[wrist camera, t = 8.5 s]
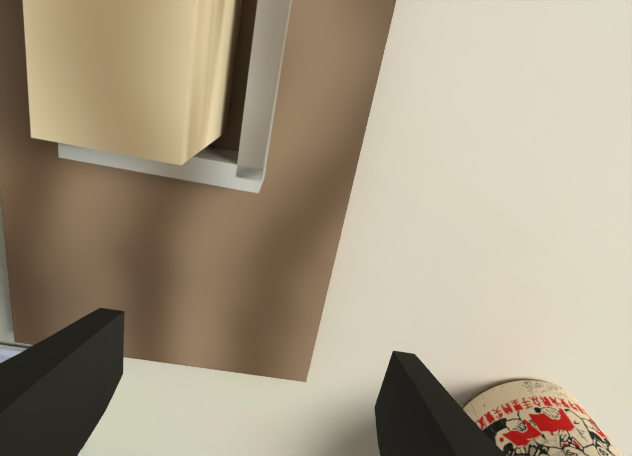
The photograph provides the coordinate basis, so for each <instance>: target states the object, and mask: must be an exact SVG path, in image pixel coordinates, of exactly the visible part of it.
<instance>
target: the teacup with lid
mask: <svg viewBox="0 0 632 456" xmlns="http://www.w3.org/2000/svg"><path fill="white" fill-rule="evenodd" d="M463 410H464V411H465V412H466V413H467V415H468V416H469V417H470V418H471V419H472V420H473V421H474V422H475V423H476V424H477V425H478V426H479V428H480V429H481V430H482V431H483V432H484V433H485V434H486V435H487V436H488V437H489V438H490V439H491V440H492V441H493V442H494V443H495V444H496V445H497V446H498V447H499V448H500V449H501V450H502V451H503V452H504V453H505V454H506V455H507V456H623V455H622V454H621V453H620V451H619V450H618V449H617V448H616V446H615V445H614V444H613V443H612V442H611V440H610V439H609V438H608V437H607V436H606V434H605V433H604V432H603V431H602V430H601V428H600V427H599V426H598V425H597V424H596V422H595V421H594V420H593V419H592V418H591V416H590V415H589V414H588V413H587V411H586V410H585V409H584V408H583V407H582V405H581V404H580V403H579V402H578V401H577V400H576V398H575V397H574V396H573V395H571V394H570V393H569V392H568V391H566V390H565V389H563V388H561V387H559V386H557V385H554V384H551V383H547V382H542V381H535V380H522V381H514V382H509V383H505V384H501V385H498V386H495V387H493V388H491V389H489V390H486V391H485V392H483V393H481V394H480V395H478V396H477V397H475V398H474V399H473V400H471V401H470V402H469V403H468V404H467V405H466V406H465V407H464V408H463Z"/></svg>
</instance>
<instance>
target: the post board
mask: <svg viewBox="0 0 632 456" xmlns="http://www.w3.org/2000/svg"><path fill="white" fill-rule="evenodd" d="M395 3H396V0H242V9H241V17H240V26H239V35H238V43H237V52H236V61H235V69H234V78H233V87H232V95H231V104H230V113H229V121H228V130H227V132H225V133H224V134H223V135H221V136H220V137H219V138H217V139H216V140H215V141H213V142H212V143H211V144H209V145H208V146H207V147H205V148H204V149H202V150H201V151H200V152H198V153H197V154H196V155H194V156H193V157H192V158H190V159H189V160H188V161H186V162H185V163H184V164H182V165H176V164H171V163H166V162H160V161H155V160H149V159H144V158H139V157H133V156H128V155H123V154H117V153H112V152H106V151H101V150H96V149H90V148H85V147H79V146H74V145H69V144H63V143H58V142H52V141H47V140H42V139H36V138H31V129H30V112H29V96H28V79H27V63H26V47H25V30H24V14H23V0H0V193H1V204H2V214H3V224H4V235H5V245H6V256H7V266H8V277H9V287H10V297H11V308H12V318H13V329H14V339H15V342H18V343H25V344H32V345H35V344H37V343H39V342H40V341H42V340H44V339H46V338H48V337H49V336H51V335H53V334H55V333H56V332H58V331H60V330H62V329H63V328H65V327H67V326H68V325H70V324H72V323H74V322H75V321H77V320H79V319H81V318H82V317H84V316H86V315H88V314H89V313H91V312H93V311H95V310H97V309H99V308H106V309H113V310H120V311H124V351H123V357H127V358H134V359H142V360H149V361H156V362H164V363H171V364H178V365H186V366H193V367H200V368H207V369H215V370H222V371H229V372H237V373H244V374H251V375H259V376H266V377H273V378H280V379H288V380H295V381H302V382H306V379H307V375H308V371H309V367H310V362H311V358H312V354H313V350H314V345H315V341H316V337H317V333H318V329H319V324H320V320H321V316H322V312H323V307H324V303H325V299H326V295H327V291H328V286H329V282H330V278H331V274H332V269H333V265H334V261H335V257H336V252H337V248H338V244H339V240H340V236H341V231H342V227H343V223H344V219H345V214H346V210H347V206H348V202H349V198H350V193H351V189H352V185H353V181H354V176H355V172H356V168H357V164H358V159H359V155H360V151H361V147H362V143H363V138H364V134H365V130H366V126H367V121H368V117H369V113H370V109H371V105H372V100H373V96H374V92H375V88H376V83H377V79H378V75H379V71H380V66H381V62H382V58H383V54H384V50H385V45H386V41H387V37H388V33H389V28H390V24H391V20H392V16H393V12H394V7H395Z"/></svg>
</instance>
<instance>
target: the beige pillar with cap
mask: <svg viewBox="0 0 632 456" xmlns="http://www.w3.org/2000/svg"><path fill="white" fill-rule="evenodd" d="M241 9H242V0H23V14H24V30H25V47H26V63H27V79H28V96H29V112H30V129H31V138H36V139H42V140H47V141H52V142H58V143H63V144H69V145H74V146H79V147H85V148H90V149H96V150H101V151H106V152H112V153H117V154H123V155H128V156H133V157H139V158H144V159H149V160H155V161H160V162H166V163H171V164H176V165H182V164H184V163H185V162H186V161H188V160H189V159H190V158H192V157H193V156H194V155H196V154H197V153H198V152H200V151H201V150H202V149H204V148H205V147H207V146H208V145H209V144H211V143H212V142H213V141H215V140H216V139H217V138H219V137H220V136H221V135H223V134H224V133H225V132H227V130H228V121H229V113H230V104H231V95H232V87H233V78H234V69H235V61H236V52H237V43H238V35H239V26H240V17H241Z"/></svg>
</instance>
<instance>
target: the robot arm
mask: <svg viewBox="0 0 632 456" xmlns="http://www.w3.org/2000/svg"><path fill="white" fill-rule="evenodd" d="M123 351H124V311H120V310H113V309H106V308H99V309H97V310H95V311H93V312H91V313H89V314H88V315H86V316H84V317H82V318H81V319H79V320H77V321H75V322H74V323H72V324H70V325H68V326H67V327H65V328H63V329H62V330H60V331H58V332H56V333H55V334H53V335H51V336H49V337H48V338H46V339H44V340H42V341H40V342H39V343H37V344H35V345H33V346H32V347H30V348H21V347H14V346H6V345H0V456H79V455H80V453H81V451H82V448H83V446H84V445H85V443H86V441H87V440H88V438H89V437H90V435H91V433H92V432H93V430H94V429H95V427H96V425H97V424H98V422H99V420H100V419H101V417H102V416H103V414H104V412H105V411H106V408H107V406H108V404H109V402H110V400H111V398H112V396H113V394H114V392H115V390H116V388H117V385H118V383H119V381H120V379H121V377H122V375H123ZM375 417H376V428H377V437H378V446H379V450H380V455H381V456H507V455H506V454H505V453H504V452H503V451H502V450H501V449H500V448H499V447H498V446H497V445H496V444H495V443H494V442H493V441H492V440H491V439H490V438H489V437H488V436H487V435H486V434H485V433H484V432H483V431H482V430H481V429H480V428H479V426H478V425H477V424H476V423H475V422H474V421H473V420H472V419H471V418H470V417H469V416H468V415H467V413H466V412H465V411H464V410H463V409H462V408H461V407H460V406H459V405H458V403H457V402H456V401H455V400H454V399H453V398H452V397H451V395H450V394H449V393H448V392H447V391H446V390H445V388H444V387H443V386H442V385H441V384H440V383H439V381H438V380H437V379H436V378H435V377H434V376H433V374H432V373H431V372H430V371H429V370H428V369H427V367H426V366H425V365H424V364H423V363H422V362H421V361H420V359H419V358H418V357H417V356H416V355H415V354H412V353H405V352H398V351H393V353H392V356H391V359H390V362H389V365H388V368H387V371H386V374H385V377H384V380H383V383H382V386H381V389H380V392H379V396H378V399H377V402H376V405H375Z"/></svg>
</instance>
